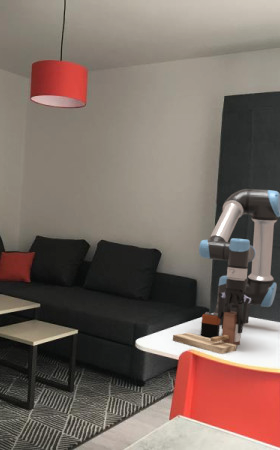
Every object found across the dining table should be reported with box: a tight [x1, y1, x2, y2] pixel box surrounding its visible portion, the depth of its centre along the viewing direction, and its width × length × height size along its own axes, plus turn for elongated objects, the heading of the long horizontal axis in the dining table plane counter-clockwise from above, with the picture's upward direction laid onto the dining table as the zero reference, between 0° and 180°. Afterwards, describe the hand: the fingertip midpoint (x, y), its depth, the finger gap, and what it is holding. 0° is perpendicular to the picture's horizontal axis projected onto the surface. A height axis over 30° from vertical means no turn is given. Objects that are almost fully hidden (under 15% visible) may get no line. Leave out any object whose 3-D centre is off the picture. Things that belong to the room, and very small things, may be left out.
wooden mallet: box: [211, 311, 242, 346], centre depth 191 cm, size 16×4×12 cm, turn 139°
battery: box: [200, 311, 221, 338], centre depth 209 cm, size 4×7×10 cm, turn 68°
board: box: [172, 332, 238, 355], centre depth 192 cm, size 10×22×2 cm, turn 49°
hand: (230, 339), depth 195 cm, fingers closed on wooden mallet, 4 cm apart
